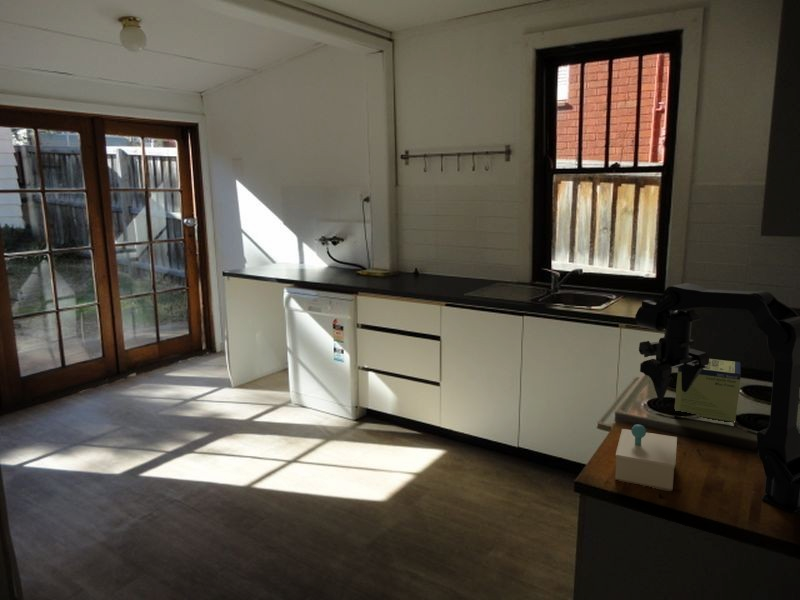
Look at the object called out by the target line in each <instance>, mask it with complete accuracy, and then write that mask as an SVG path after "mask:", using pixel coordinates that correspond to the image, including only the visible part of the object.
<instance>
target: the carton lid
mask: <svg viewBox="0 0 800 600" xmlns="http://www.w3.org/2000/svg"><path fill="white" fill-rule="evenodd" d="M677 442H678V436H671V435H665V434H658V433H654V432H653V433H651V432H647V430H646V427H645V426H644V425H642V424H640V423H639V424H638V423H637V424H634V425H633V426H632V427H631V429H628V428H621V433H620V436H619V440H618V444H617V447H616V450H615V451H616V452H615V458H616V457H618V458H624V459H630V460H635V461H641V462H647V463H653V464H658V465H664V466H670V467H674V468H676V462H677V461H676V460H677V458H676V457H677V447H678V446H677Z"/></svg>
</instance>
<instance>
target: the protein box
mask: <svg viewBox="0 0 800 600" xmlns="http://www.w3.org/2000/svg"><path fill="white" fill-rule="evenodd" d="M704 366H705V368H704V369H703V370H702V371H701V372H700V374H699V375H698V376H697V378H696V379H695V380H694V382H693V383H692V385H691V386H690V388H689V389H688V391H687V392H684V391H682V370H681V368H680V366H677V378H676V388H675V390H676V391H675V400H674V409H675V411H681V412H687V413H691V414H696V415H698V416H700V417H703V418H707V419H712V420H718V421H724V422H734V421H735V422H736V419H737V413H738V412H737V411H738V403H739V396H740V395H739V394H740V386H741V377H742V376H741V374H742V373H741V371H742V369H741V368H742V367H741V362H740V361H735V360H734V361H731V360H723V359H714V358H709V364H708V365H704Z"/></svg>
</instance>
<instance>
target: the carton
mask: <svg viewBox="0 0 800 600" xmlns="http://www.w3.org/2000/svg"><path fill="white" fill-rule="evenodd" d="M615 460H616V461H615V475H614V477H615V478H614V480H620V481H625V482H630V483H635V484H640V485H644V486H643V487H645V486H649V487H648V488H650V487H652V489H655V488H656V489H655V490H661V491H667V492H671V491H672V492H673V487H674V477H675V476H674V475H675V467H670V466H664V465H658V464H653V463H647V462H641V461H635V460H630V459H624V458H618V457H615Z"/></svg>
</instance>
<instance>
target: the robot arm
mask: <svg viewBox="0 0 800 600" xmlns="http://www.w3.org/2000/svg"><path fill="white" fill-rule="evenodd" d="M695 308H712V309H713V308H715V309H726V310H727V309H729V310H740V311H741V310H742V311H749V312H750V313H751V314H752V316H753V319H754V321H755V323H756V324H757V327H758V328H759V329H760V330H761V331H762V332H763V333H764V335H766V342H767V350H768V351H769V354H770V355H771V357H772V359H773V369H772V370H773V373H772V384H771V385H772V387H771V400H770V411H769V413H770V416H769V424H768V426H767V428H764V429H762V430H760V431H758V432H757V433H756V438H757V439H756V441H757V442H756V443H757V444H756V447H755V451H757V455H758V458H759V460H760V461H761V463H762V467H763V470H764V474H765V482H764V483H765V484H764V485H765V486H764V491H763V492H764V495H762V496H761V500H763V501H765V502H767V503H769V504H771V505H773V506H776V507H778V508H780V509H782V510H784V511H786V512H788V511H789V512H788V513H790V512H791V514H795V513H796V512H798V511H800V431H799V430H798V425H797V423H798V414H799V413H798V410H799V398H800V315H799V314H798V312H796V311H795V310H794V309H793V308H791V307H790V306H788V305H786V304H785V303H783V302H782V301H780V300H778V299H777V298H776V297H775V296H774V295H773V294H772V293H771V292H769V291H765V290H760V291H751V290H750V291H749V290H747V291H746V290H731V289H729V290H728V289H727V290H726V289H710V288H706V287H704V286H701V285H698V284H694V283H688V282H685V283H680V284H676V285H675V284H674V285H671V286H670V285H669V286H667V287H666V288H665V290H664V291H663V294H662V296H661V297H660V299H658V301H657V302H655V301H652V300H648V299H646V300H642V302H641V305H640V306H639V308H638V309H637V311H636V313H635V315H634V316H635V323H636V324H637V326H639V327H644V328H647V329H650V330H653V331H657V332H660V331H663V330H664V335H663V336H664V337H663V336H662V337H660V338H659V339H658V341H653V342H650V341H649V340H647V341H645V340H644V341H641V342H639V345H638V353H639V354H640V355H642V356H644V358H649V357H653V356H654V357H656V359H655V358H651V359H648V360H644V361H642V362H641V363H640V365H639V366H640V367H639V368H640V369H639V373H641V374H644V375H645V376H647V377H649V379H650V380H651V382H652V384H653V387H654V388H653V389H654V391H655V393H656V398H657V400H660V401H663V400H664V397H665V395H666V394H667V390H668V388H669V385H670V383H671V380H672V376H671V374H672V371H673V368H676V367H677V368H678V366H680V368H681V370H682V391H684V392H687V391H688V389H689V388H690V386H691V385H692V383H693V382H694V380H695V379H696V378H697V376H698V375H699V374H700V372H701V371H702V370H703V369H704V368H705V366H704V365H708V364H709V359H710V356H709V355H708V354H707V352H705V351H700V350H699V349H698V350H697V349H694V348H690V346H693V345H694V343H695V340H694V339H691V333H692V323H693V322H696V321H700V320H701V319H702V317H701V316H700V315H699V314H698V313H697V312H696V311H695ZM687 309H691V310H687ZM671 310H672V311H671ZM685 310H687V311H685ZM658 359H659V360H658Z"/></svg>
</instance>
